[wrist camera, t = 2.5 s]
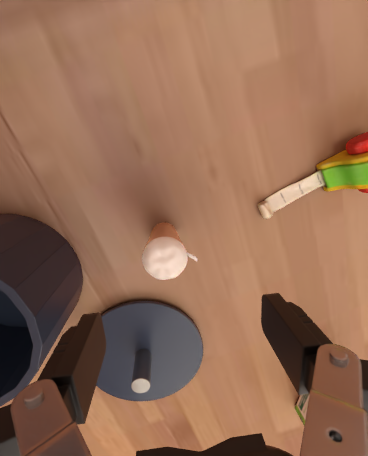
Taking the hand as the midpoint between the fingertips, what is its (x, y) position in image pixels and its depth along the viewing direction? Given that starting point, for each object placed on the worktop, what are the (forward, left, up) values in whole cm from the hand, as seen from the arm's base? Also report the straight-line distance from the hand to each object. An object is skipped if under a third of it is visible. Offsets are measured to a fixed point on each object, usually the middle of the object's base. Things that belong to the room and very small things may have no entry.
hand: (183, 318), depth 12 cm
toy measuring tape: (+20, +4, -21) cm, 29 cm away
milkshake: (-1, -2, -21) cm, 21 cm away
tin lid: (-6, -20, -20) cm, 29 cm away
